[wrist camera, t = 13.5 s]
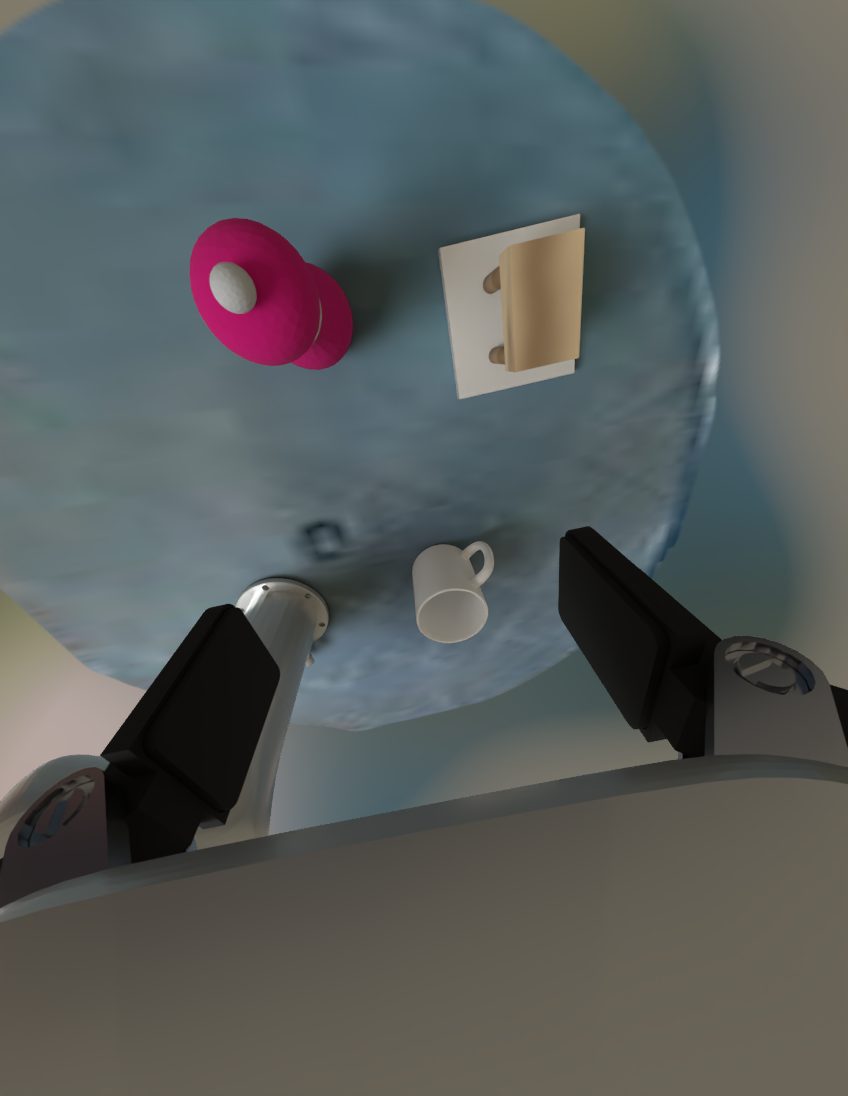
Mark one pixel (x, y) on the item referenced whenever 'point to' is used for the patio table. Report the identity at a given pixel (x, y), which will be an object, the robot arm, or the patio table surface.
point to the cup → (450, 592)
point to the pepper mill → (268, 297)
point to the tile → (487, 310)
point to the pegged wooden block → (539, 300)
